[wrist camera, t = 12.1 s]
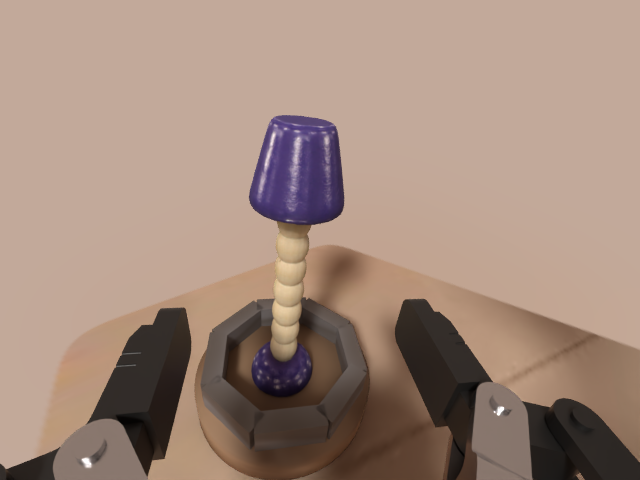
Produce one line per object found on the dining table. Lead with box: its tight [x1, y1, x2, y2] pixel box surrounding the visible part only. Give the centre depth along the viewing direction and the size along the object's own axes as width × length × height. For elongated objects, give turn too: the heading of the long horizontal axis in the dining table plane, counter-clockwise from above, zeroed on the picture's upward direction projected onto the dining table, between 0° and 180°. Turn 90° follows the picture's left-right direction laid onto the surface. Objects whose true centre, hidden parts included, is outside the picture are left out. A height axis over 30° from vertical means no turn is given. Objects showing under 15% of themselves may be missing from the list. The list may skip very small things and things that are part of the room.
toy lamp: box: [249, 115, 344, 397], centre depth 17 cm, size 5×5×17 cm
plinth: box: [195, 297, 369, 480], centre depth 22 cm, size 12×12×4 cm
